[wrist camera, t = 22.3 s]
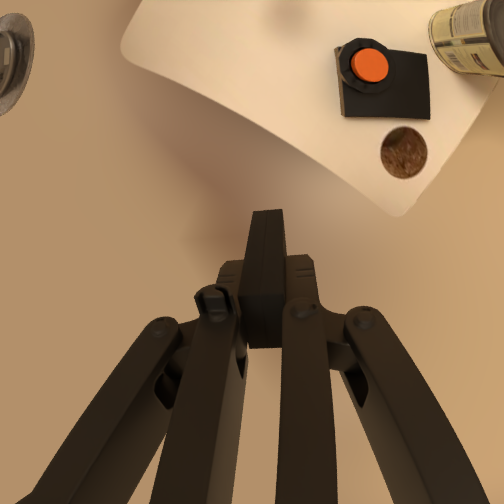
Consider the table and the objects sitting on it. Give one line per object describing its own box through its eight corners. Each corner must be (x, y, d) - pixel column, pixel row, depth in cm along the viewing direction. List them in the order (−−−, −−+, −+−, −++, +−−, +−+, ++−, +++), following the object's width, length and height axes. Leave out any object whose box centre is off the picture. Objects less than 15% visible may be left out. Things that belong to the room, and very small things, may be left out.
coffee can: (483, 27, 21) (545, 24, 9) (480, 84, 26) (544, 98, 15) (428, -2, 21) (485, -23, 9) (425, 59, 27) (487, 57, 15)
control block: (337, 115, 33) (344, 118, 30) (329, 42, 28) (335, 37, 24) (423, 117, 31) (437, 122, 28) (418, 48, 26) (432, 46, 23)
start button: (352, 81, 27) (356, 81, 26) (349, 49, 25) (352, 47, 24) (384, 82, 27) (390, 82, 25) (381, 51, 25) (386, 49, 23)
